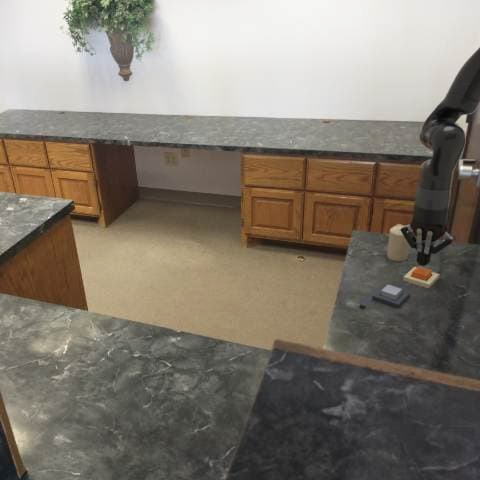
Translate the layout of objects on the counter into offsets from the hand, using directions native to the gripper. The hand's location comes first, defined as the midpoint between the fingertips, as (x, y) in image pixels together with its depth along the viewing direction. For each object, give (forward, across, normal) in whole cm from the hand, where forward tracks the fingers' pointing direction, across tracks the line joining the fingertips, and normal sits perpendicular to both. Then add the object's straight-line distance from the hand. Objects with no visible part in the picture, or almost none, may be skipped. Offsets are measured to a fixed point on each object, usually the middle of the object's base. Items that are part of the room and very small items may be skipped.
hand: (422, 264), depth 132 cm
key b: (+4, +2, +13) cm, 14 cm away
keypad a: (+6, 0, 0) cm, 6 cm away
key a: (+4, 0, 0) cm, 4 cm away
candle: (+6, +11, -11) cm, 17 cm away
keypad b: (+6, +2, +13) cm, 15 cm away
